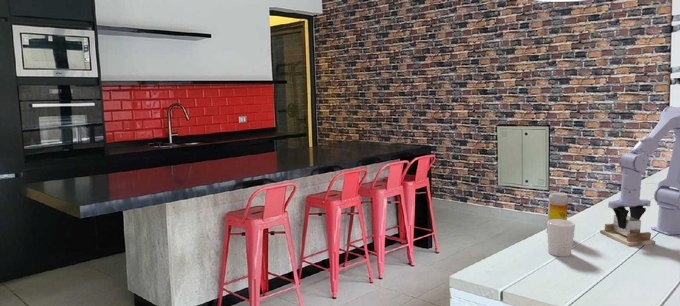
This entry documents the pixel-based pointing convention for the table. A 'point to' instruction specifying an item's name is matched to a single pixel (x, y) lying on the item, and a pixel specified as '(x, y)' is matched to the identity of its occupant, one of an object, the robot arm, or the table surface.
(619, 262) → the table surface
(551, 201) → the beer can
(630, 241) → the birch cradle
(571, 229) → the white cup
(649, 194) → the table surface
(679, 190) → the robot arm
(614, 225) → the aluminium block
